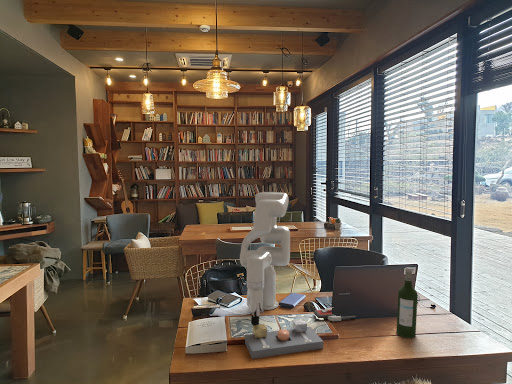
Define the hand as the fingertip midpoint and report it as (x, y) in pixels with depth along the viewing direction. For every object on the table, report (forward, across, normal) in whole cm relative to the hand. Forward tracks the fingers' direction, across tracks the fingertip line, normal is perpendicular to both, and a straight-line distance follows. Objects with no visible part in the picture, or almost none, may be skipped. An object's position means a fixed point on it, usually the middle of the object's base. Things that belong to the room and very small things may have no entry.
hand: (255, 324), depth 151 cm
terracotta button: (+2, +11, +9) cm, 15 cm away
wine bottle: (+5, +16, +65) cm, 67 cm away
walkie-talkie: (+5, -7, +42) cm, 43 cm away
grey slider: (+1, +7, +18) cm, 20 cm away
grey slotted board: (+5, +11, +9) cm, 15 cm away
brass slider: (+1, +7, 0) cm, 8 cm away
